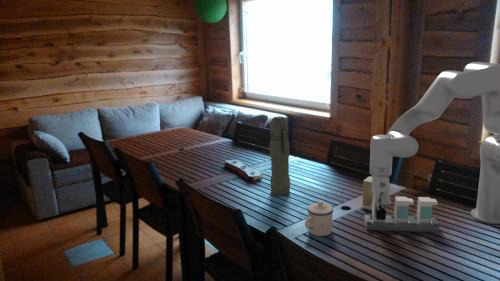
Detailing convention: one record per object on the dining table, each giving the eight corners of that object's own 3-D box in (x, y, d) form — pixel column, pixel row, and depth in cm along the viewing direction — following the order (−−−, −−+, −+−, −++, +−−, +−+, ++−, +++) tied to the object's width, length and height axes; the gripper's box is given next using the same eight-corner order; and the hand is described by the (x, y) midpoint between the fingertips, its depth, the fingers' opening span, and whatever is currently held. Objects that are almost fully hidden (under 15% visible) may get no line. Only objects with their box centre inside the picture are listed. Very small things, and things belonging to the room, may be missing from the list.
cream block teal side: (432, 220, 148) (434, 197, 146) (436, 226, 143) (438, 202, 141) (416, 219, 149) (417, 197, 147) (419, 225, 144) (421, 202, 142)
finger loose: (387, 218, 151) (388, 196, 148) (390, 224, 146) (391, 201, 144) (371, 218, 151) (372, 196, 149) (373, 224, 147) (374, 201, 145)
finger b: (410, 219, 149) (411, 196, 147) (413, 225, 145) (414, 202, 142) (393, 218, 150) (395, 196, 148) (396, 224, 146) (397, 201, 143)
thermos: (280, 198, 178) (279, 121, 169) (265, 190, 188) (263, 117, 179) (296, 193, 183) (295, 118, 174) (280, 186, 192) (278, 114, 183)
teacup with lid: (319, 223, 154) (319, 194, 151) (338, 231, 147) (338, 201, 144) (296, 233, 147) (296, 203, 144) (315, 242, 140) (315, 211, 137)
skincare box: (368, 203, 170) (369, 175, 167) (378, 205, 167) (379, 177, 164) (361, 208, 165) (362, 180, 162) (372, 210, 162) (373, 182, 159)
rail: (433, 223, 150) (433, 215, 149) (439, 232, 143) (439, 224, 142) (364, 221, 154) (364, 214, 153) (366, 229, 147) (366, 222, 146)
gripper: (396, 178, 135) (393, 224, 139) (387, 162, 151) (385, 204, 156) (373, 177, 136) (371, 224, 140) (366, 162, 152) (365, 203, 157)
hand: (378, 213), depth 148 cm, fingers open, 9 cm apart
